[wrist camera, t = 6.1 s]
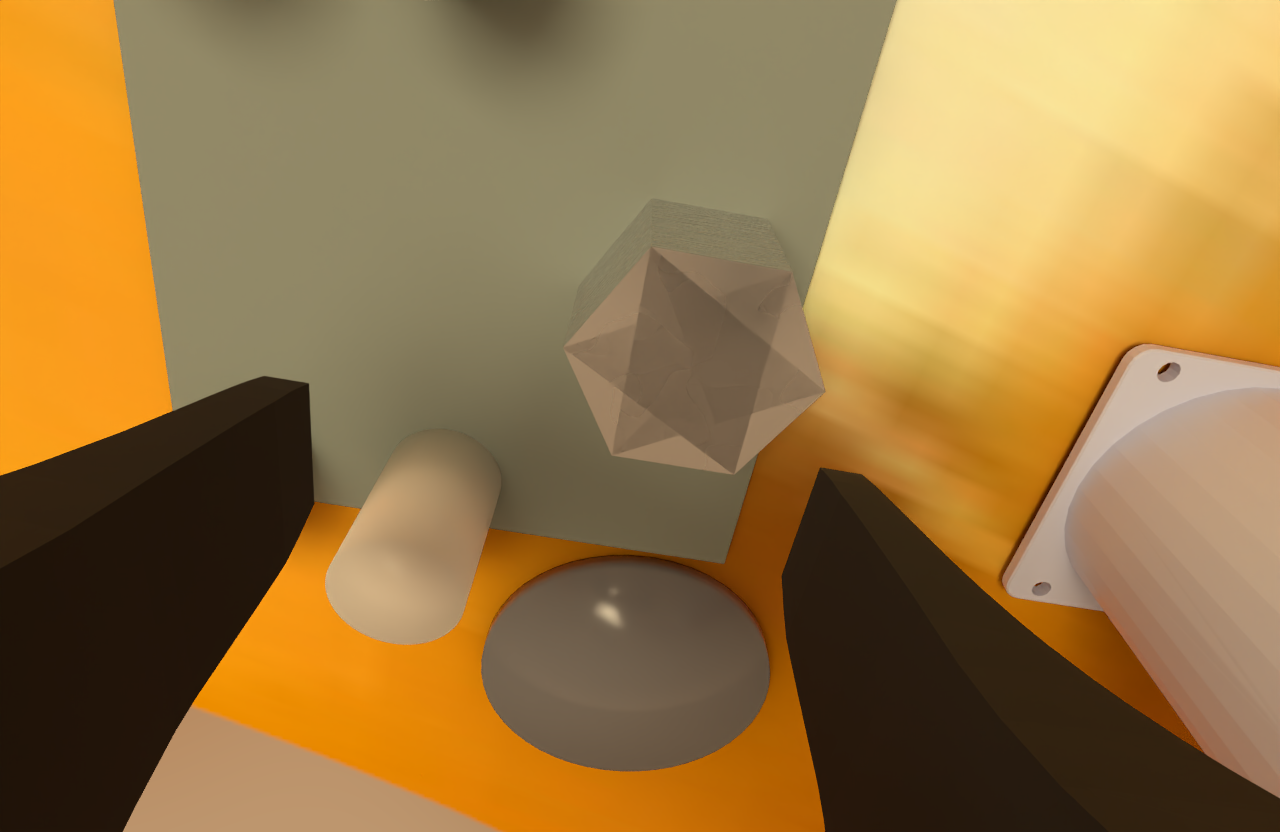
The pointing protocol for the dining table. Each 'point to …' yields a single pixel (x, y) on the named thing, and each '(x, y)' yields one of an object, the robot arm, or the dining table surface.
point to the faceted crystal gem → (692, 339)
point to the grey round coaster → (625, 663)
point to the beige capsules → (417, 540)
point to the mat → (470, 212)
